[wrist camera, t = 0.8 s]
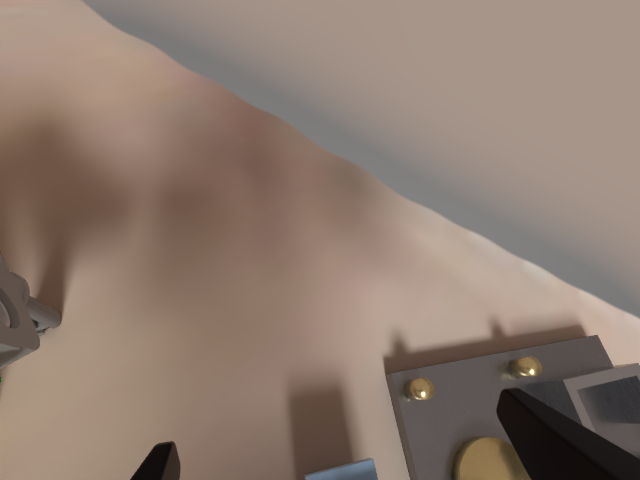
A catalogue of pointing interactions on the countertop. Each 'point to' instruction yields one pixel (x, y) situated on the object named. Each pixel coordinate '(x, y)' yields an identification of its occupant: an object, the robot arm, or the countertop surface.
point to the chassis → (482, 398)
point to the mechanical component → (20, 317)
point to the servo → (347, 472)
